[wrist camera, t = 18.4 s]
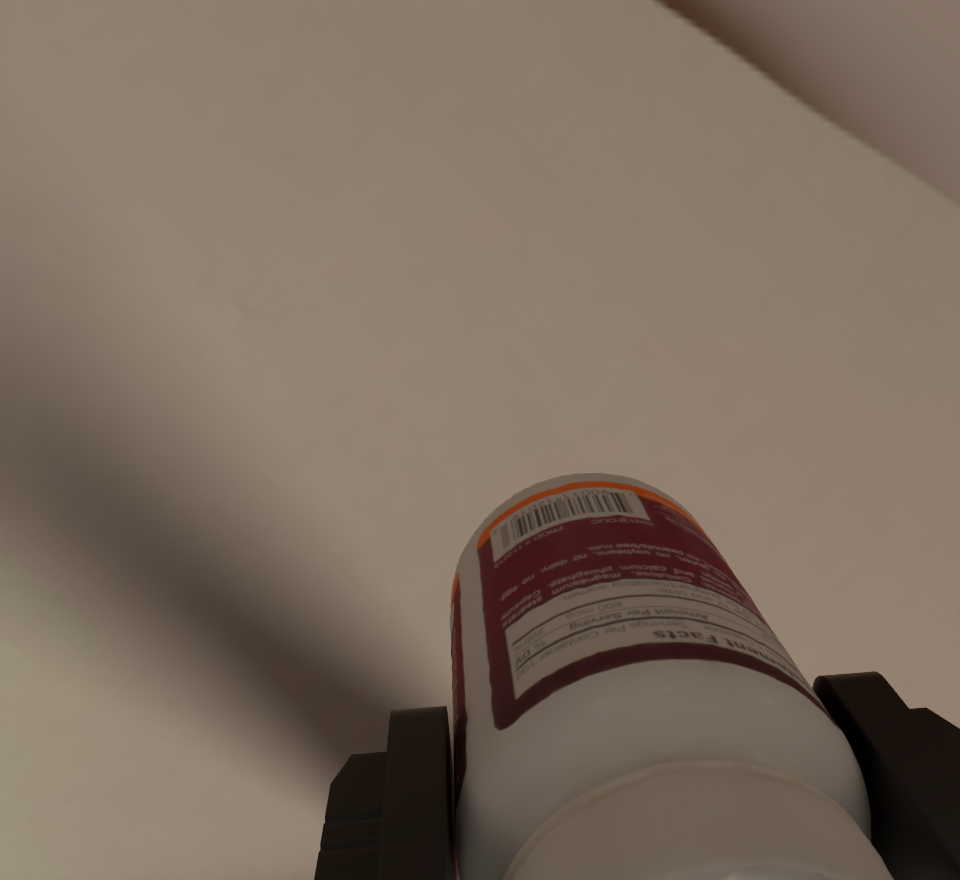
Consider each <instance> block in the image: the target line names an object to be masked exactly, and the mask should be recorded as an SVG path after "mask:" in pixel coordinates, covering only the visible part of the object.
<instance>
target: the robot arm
mask: <svg viewBox="0 0 960 880" xmlns="http://www.w3.org/2000/svg"><path fill="white" fill-rule="evenodd" d="M812 689H813V691H814V692H815V694H816V696H817V697H818V698H819V699H820V701H821V702H822V704H823V706H824V707H825V709H826V710H827V712H828V713H829V715H830V716H831V717H832V719H833V720H834V721H835V723H836V724H837V725H838V727H839V728H840V729H841V731H842V732H843V734H844V735H845V737H846V738H847V740H848V742H849V744H850V746H851V748H852V750H853V752H854V754H855V757H856V759H857V761H858V764H859V766H860V768H861V771H862V775H863V779H864V782H865V786H866V790H867V795H868V800H869V806H870V813H871V844H872V845H873V846H874V848H875V849H876V851H877V852H878V853H879V855H880V856H881V858H882V860H883V862H884V864H885V865H886V867H887V869H888V871H889V873H890V874H891V876H892V878H893V879H894V880H960V729H959V728H958V727H956V726H954V725H953V724H951V723H950V722H948V721H947V720H945V719H943V718H942V717H940V716H939V715H937V714H936V713H934V712H932V711H931V710H929V709H928V708H915V709H909V708H908V707H907V705H906V704H905V703H904V702H903V701H902V699H901V698H900V697H899V696H898V694H897V693H896V692H895V691H894V689H893V688H892V687H891V686H890V684H889V683H888V682H887V681H886V679H885V678H884V677H883V676H882V675H881V674H879V673H878V672H863V673H851V674H838V675H826V676H818V677H817V678H816V679H815V681H814V683H813V688H812ZM320 846H321V850H320V851H319V855H318V861H317V866H316V872H315V878H314V880H460V877H459V872H458V865H457V859H456V849H455V843H454V774H453V764H452V754H451V743H450V733H449V723H448V714H447V707H446V706H442V707H430V708H418V709H406V710H394V711H391V714H390V722H389V733H388V744H387V752H377V753H365V754H353V755H351V757H350V758H349V759H348V761H347V762H346V763H345V765H344V766H343V768H342V769H341V770H340V772H339V773H338V775H337V776H336V777H335V779H334V780H333V782H332V783H331V785H330V791H329V797H328V803H327V808H326V814H325V823H324V826H323V832H322V837H321V843H320Z"/></svg>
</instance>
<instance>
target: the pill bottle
mask: <svg viewBox="0 0 960 880" xmlns="http://www.w3.org/2000/svg"><path fill="white" fill-rule="evenodd" d="M450 630H451V657H452V676H453V678H452V692H453V742H454V843H455V849H456V859H457V865H458V872H459V877H460V880H894V879H893V878H892V876H891V874H890V873H889V871H888V869H887V867H886V865H885V864H884V862H883V860H882V858H881V856H880V855H879V853H878V852H877V851H876V849H875V848H874V846H873V845H872V844H871V813H870V806H869V800H868V795H867V790H866V786H865V782H864V779H863V775H862V771H861V768H860V766H859V764H858V761H857V759H856V757H855V754H854V752H853V750H852V748H851V746H850V744H849V742H848V740H847V738H846V737H845V735H844V734H843V732H842V731H841V729H840V728H839V727H838V725H837V724H836V723H835V721H834V720H833V719H832V717H831V716H830V715H829V713H828V712H827V710H826V709H825V707H824V706H823V704H822V702H821V701H820V699H819V698H818V697H817V696H816V694H815V692H814V691H813V689H812V687H811V686H810V685H809V684H808V682H807V681H806V679H805V678H804V677H803V675H802V674H801V672H800V671H799V669H798V668H797V666H796V665H795V663H794V662H793V660H792V659H791V657H790V656H789V654H788V653H787V651H786V649H785V648H784V646H783V645H782V644H781V642H780V641H779V640H778V638H777V637H776V635H775V634H774V633H773V631H772V630H771V628H770V627H769V625H768V624H767V622H766V621H765V619H764V618H763V617H762V615H761V613H760V612H759V610H758V609H757V607H756V606H755V604H754V602H753V601H752V599H751V597H750V596H749V594H748V593H747V592H746V590H745V589H744V588H743V586H742V585H741V584H740V582H739V581H738V579H737V578H736V576H735V575H734V573H733V572H732V570H731V569H730V567H729V566H728V564H727V562H726V560H725V559H724V558H723V557H722V555H721V554H720V552H719V551H718V550H717V548H716V547H715V545H714V544H713V543H712V541H711V540H710V539H709V537H708V535H707V534H706V533H705V531H704V530H703V528H702V527H701V526H700V524H699V523H698V522H697V520H696V519H695V518H694V517H693V516H692V515H691V514H690V513H689V512H688V511H687V510H686V509H685V508H684V507H683V506H682V505H680V504H679V503H678V502H677V501H675V500H674V499H673V498H671V497H670V496H668V495H667V494H665V493H663V492H662V491H660V490H658V489H657V488H655V487H652V486H650V485H648V484H645V483H643V482H641V481H638V480H636V479H633V478H628V477H624V476H620V475H611V474H603V473H584V474H572V475H565V476H560V477H556V478H553V479H549V480H546V481H543V482H540V483H537V484H534V485H533V486H531V487H529V488H526V489H524V490H522V491H520V492H518V493H517V494H515V495H514V496H512V497H511V498H510V499H508V500H507V501H506V502H504V503H503V504H502V505H500V506H499V507H498V508H496V509H495V510H494V511H493V512H492V513H491V514H490V515H489V516H488V517H487V518H486V519H485V520H484V521H483V523H482V524H481V525H480V526H479V528H478V529H477V530H476V531H475V533H474V534H473V536H472V537H471V539H470V540H469V542H468V544H467V545H466V547H465V548H464V550H463V552H462V554H461V557H460V559H459V562H458V564H457V568H456V572H455V576H454V580H453V585H452V593H451V615H450Z"/></svg>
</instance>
